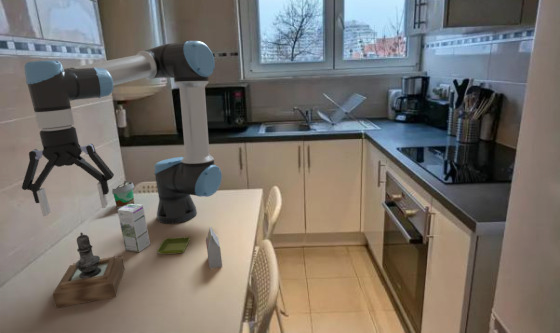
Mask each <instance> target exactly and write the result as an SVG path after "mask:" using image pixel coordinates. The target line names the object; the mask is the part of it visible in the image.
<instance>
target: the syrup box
mask: <svg viewBox="0 0 560 333" xmlns="http://www.w3.org/2000/svg"><path fill="white" fill-rule="evenodd" d="M117 214H118V219H119V224H120V229H121V235H122V240H123V243H124V249H125V251H127V252H128V251H130V252H136V253H140V252H142V251H143V250H145V249H146V248H148V246H150V245H151V242H150V241H151V240H150V236H149V231H148V225H147V220H146V215H145V209H144V204H136V203H134V204H127V205H125V206H123V207H121V208H120V209H118V210H117Z"/></svg>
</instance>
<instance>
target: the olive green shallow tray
mask: <svg viewBox="0 0 560 333" xmlns="http://www.w3.org/2000/svg"><path fill="white" fill-rule="evenodd" d="M190 240H191V236H182V237H166V238H164V239H163V241H162V242H161V244H160V246H159V247H158V249H157V250H156V252H157V253H159V254H161V255H167V254H168V255H169V254H183V253H184V251H185V250H186V248H187V246H188V243H189V242H190Z"/></svg>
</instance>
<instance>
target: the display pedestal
mask: <svg viewBox="0 0 560 333" xmlns="http://www.w3.org/2000/svg"><path fill="white" fill-rule="evenodd" d="M75 264H76V262H74V263H72V264H71V265H69V266H68V268H67V270H66V271H65V272H64V274H63V276H62V278H61V279H60V281H59V283H58V284H57V285H56V287H55V289H54V291H53V292H52V298H53V302H54V305H55V309H56V308H62V307H69V306H74V305H78V304H84V303H88V302H89V303H90V302H95V301H100V300H101V301H102V300H106V299H111V298H116V297H117V294H118V291H119V290H120V289H119V288H120V286H121V283H122V279H123V276H124V273H125V270H126V268H125V262H124V257H123V256H118V257H116V256H109V257H103V258H100V260H99V265H98V268H101V272H100V273H99V274H98V275H96V276H94V277H91V278H85V279H83V278H80V277H79V275H80V273H81V271H80V270H79V269H78V268H77V267H76V265H75Z"/></svg>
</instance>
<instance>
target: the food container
mask: <svg viewBox="0 0 560 333" xmlns="http://www.w3.org/2000/svg"><path fill="white" fill-rule="evenodd" d="M134 188H135V185H134V183H133V182H132V181H131V180H124V181H123V183H122V184H120V185H118V186H117V187H116V188H112V189H111V192H112V194H113V198H114V202H115V206H116V210H117V211H118V209H120V208H121V207H123V206H125V205H127V204H135V198H134V197H135V196H134Z"/></svg>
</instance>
